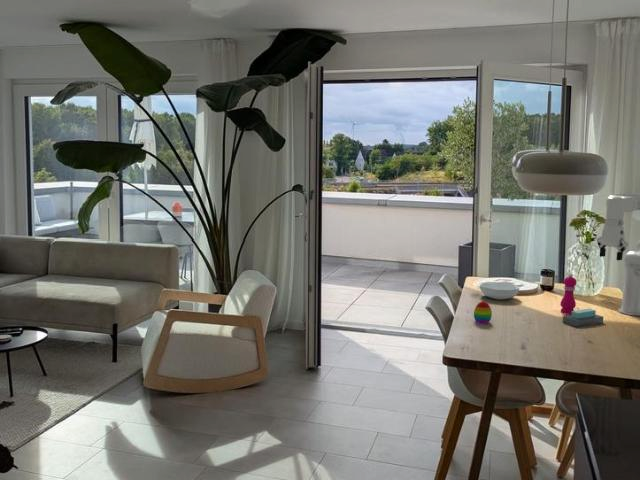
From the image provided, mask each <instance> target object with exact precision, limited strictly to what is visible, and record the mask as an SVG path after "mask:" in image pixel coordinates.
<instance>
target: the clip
mask: <svg viewBox="0 0 640 480" xmlns="http://www.w3.org/2000/svg"><path fill="white" fill-rule="evenodd" d="M596 312H597V311H596V310H595V309H592V308H584V309H578V310H574V311H572V314H570V315H571V317H573V318H576V319H581V318H586V317H593V316H595V314H596ZM596 315H597V314H596Z"/></svg>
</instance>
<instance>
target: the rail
mask: <svg viewBox="0 0 640 480" xmlns="http://www.w3.org/2000/svg"><path fill="white" fill-rule="evenodd" d="M562 323H563V324H566V325H570V326H572V327H575V328H576V327H577V328H578V327H585V326H590V325H591V326H592V325H597V324H603V323H604V315H603V316H602V315H599V314H595V316H593V317H586V318H581V319H576V318H573V317H571V314H568V315H563V316H562Z"/></svg>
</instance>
